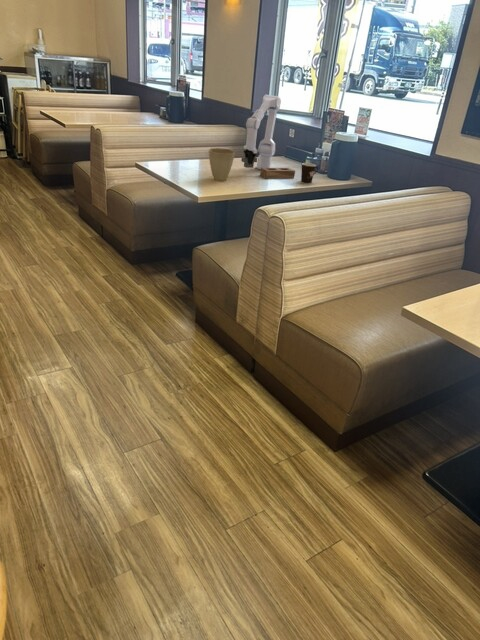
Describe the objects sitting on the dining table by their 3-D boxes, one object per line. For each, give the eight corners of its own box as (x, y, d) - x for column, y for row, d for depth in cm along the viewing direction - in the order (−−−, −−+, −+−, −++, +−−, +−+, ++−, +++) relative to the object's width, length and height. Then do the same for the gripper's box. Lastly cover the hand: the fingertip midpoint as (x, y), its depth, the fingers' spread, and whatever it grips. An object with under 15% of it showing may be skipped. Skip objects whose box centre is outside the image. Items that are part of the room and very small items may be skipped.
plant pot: (203, 176, 275) (205, 147, 267) (227, 176, 280) (229, 148, 272) (211, 182, 263) (213, 153, 255) (236, 182, 268) (238, 153, 260)
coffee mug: (301, 182, 284) (304, 165, 279) (297, 179, 291) (300, 162, 286) (319, 183, 286) (322, 166, 281) (315, 180, 293) (318, 163, 289)
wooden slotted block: (260, 175, 291) (260, 167, 289) (287, 174, 300) (288, 167, 297) (266, 178, 285) (267, 170, 283) (294, 178, 293) (295, 170, 291)
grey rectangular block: (240, 166, 286) (241, 156, 283) (254, 166, 290) (254, 156, 287) (243, 167, 284) (243, 157, 281) (256, 167, 287) (257, 157, 284)
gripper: (240, 137, 283) (238, 160, 289) (250, 142, 272) (248, 166, 278) (250, 137, 286) (248, 160, 292) (261, 142, 274) (258, 166, 281)
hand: (249, 163), depth 286 cm, fingers closed on grey rectangular block, 3 cm apart
